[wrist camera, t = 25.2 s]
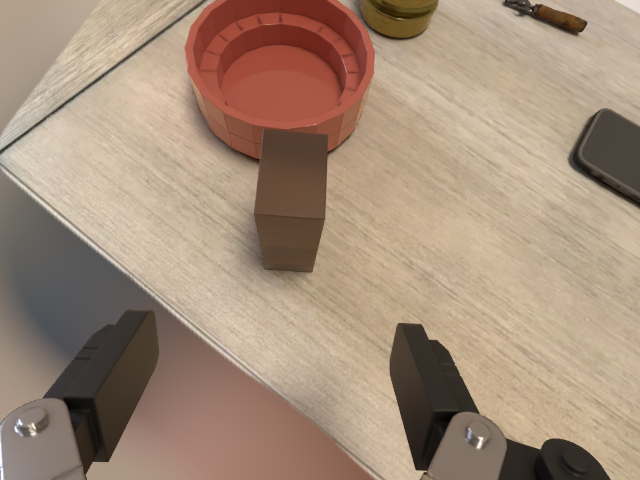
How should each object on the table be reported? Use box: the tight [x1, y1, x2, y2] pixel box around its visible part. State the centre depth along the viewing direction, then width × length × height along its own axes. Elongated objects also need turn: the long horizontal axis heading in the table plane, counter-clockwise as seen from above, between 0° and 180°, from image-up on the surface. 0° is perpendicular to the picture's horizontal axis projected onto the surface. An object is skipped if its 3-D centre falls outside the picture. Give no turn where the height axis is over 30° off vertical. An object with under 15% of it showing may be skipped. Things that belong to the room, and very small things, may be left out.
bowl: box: [185, 0, 375, 159], centre depth 31 cm, size 14×14×5 cm
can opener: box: [505, 0, 587, 32], centre depth 39 cm, size 9×2×1 cm, turn 59°
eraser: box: [254, 129, 328, 272], centre depth 24 cm, size 5×4×10 cm
